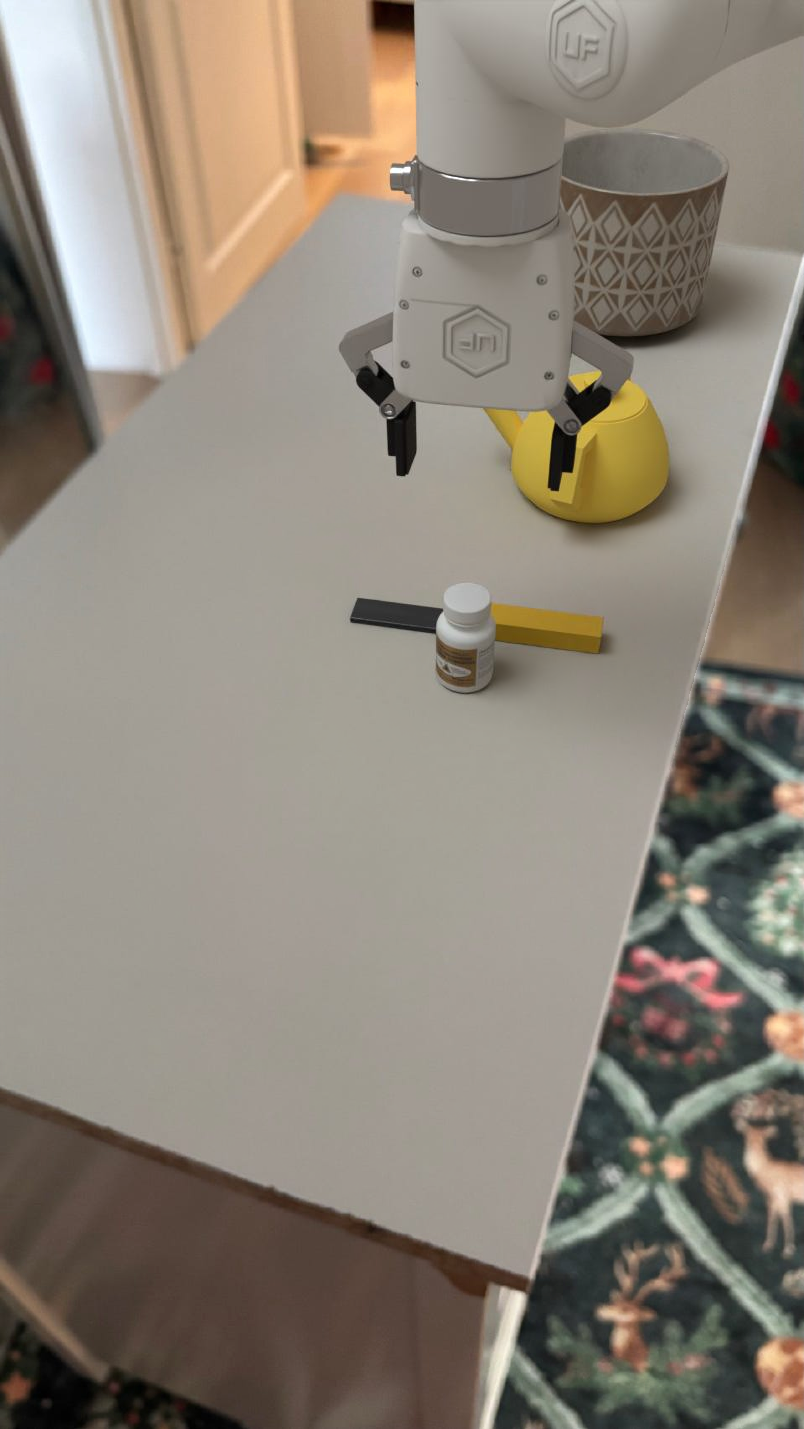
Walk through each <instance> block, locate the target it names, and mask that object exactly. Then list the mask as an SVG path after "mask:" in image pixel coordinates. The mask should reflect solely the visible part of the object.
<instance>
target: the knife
mask: <svg viewBox="0 0 804 1429" xmlns="http://www.w3.org/2000/svg"><path fill="white" fill-rule="evenodd" d="M442 612H443V607H434V606H426V605H419V604H410V603H404V602H403V603H402V602H395V601H387V600H380V599H373V598H372V599H371V598H364V597H357V598H356V600H355V603H354V606H353V608H352V610H351V614H350V616H349V622H350V623H355V624H363V625H370V626H378V627H386V628H393V629H400V630H401V629H402V630H408V631H409V630H410V631H415V632H416V631H417V632H424V633H431V634H436V625H437V620H438V618H439V616H440V615H441V613H442ZM490 613H491V614H492V616H493V618H494V620H495V623H496V635H495V641H498V642H506V643H512V644H521V645H527V646H528V645H529V646H536V647H543V648H544V647H545V648H550V649H558V650H566V651H572V652H573V651H574V652H579V653H580V652H582V653H588V654H596V655H598V654H599V652H600V645H601V641H602V632H603V624H604V617H603V616H598V615H591V614H590V615H589V614H580V613H575V612H574V613H573V612H565V611H559V610H549V609H542V608H534V607H526V606H518V605H511V604H502V603H495V602H491V612H490Z"/></svg>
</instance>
